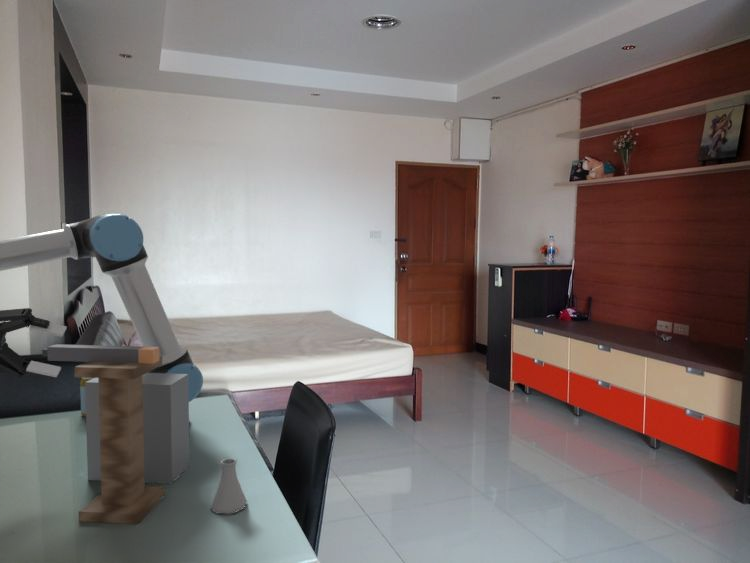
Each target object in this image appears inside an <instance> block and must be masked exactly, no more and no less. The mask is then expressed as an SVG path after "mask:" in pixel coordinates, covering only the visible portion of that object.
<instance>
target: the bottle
mask: <svg viewBox="0 0 750 563" xmlns="http://www.w3.org/2000/svg"><path fill="white" fill-rule="evenodd" d="M91 379H94V378H85V377H81V380H80V386H79V389H80V415H81V416H83V417H84V418H86V397H85V382H87V381H89V380H91Z"/></svg>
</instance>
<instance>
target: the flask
mask: <svg viewBox="0 0 750 563" xmlns="http://www.w3.org/2000/svg"><path fill="white" fill-rule="evenodd" d="M237 462H238V460H237V459H235V458H232V457H231V458H230V457H228V458H224V459H222V460H221V461H220V465H221V474H220V475H221V476H220V481H219V483H218V486H217V489H216V492H215V494H214V498H213V500H212V503H211V506H210V509H212V510H214V511H215V512H214V511H213V512H214V513H216V512H218V513H235V512H236V511H238V510H241V509H242V508H244V506H245V504H246V502H247V503H248V501H247V498H246V495H245V494H244V491H243V489H242V486H241V484H240V482H239V479H238V475H237V471H236V470H237V469H236V464H237ZM246 505H247V504H246ZM245 507H246V506H245ZM244 509H245V508H244ZM212 510H211V511H212ZM241 511H242V510H241ZM218 513H217V514H218ZM235 514H236V513H235Z"/></svg>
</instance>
